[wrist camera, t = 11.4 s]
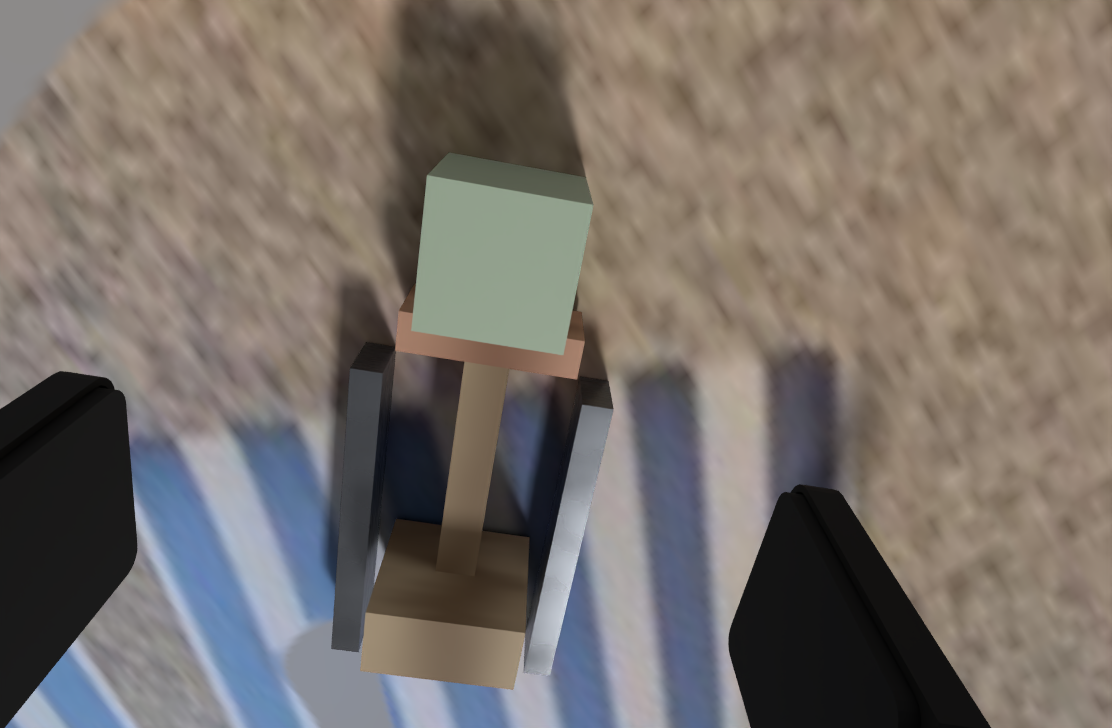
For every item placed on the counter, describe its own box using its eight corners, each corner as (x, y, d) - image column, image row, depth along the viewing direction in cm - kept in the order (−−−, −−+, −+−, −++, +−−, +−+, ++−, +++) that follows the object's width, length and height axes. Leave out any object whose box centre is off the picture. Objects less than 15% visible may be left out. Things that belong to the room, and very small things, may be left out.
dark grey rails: (346, 608, 34) (331, 648, 32) (366, 342, 28) (349, 368, 26) (549, 634, 35) (549, 676, 32) (608, 380, 29) (613, 409, 27)
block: (434, 283, 27) (411, 330, 23) (449, 152, 25) (427, 175, 21) (561, 304, 28) (563, 355, 23) (585, 177, 26) (593, 204, 21)
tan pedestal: (385, 570, 33) (353, 670, 27) (414, 284, 27) (381, 341, 22) (524, 589, 33) (519, 690, 28) (581, 312, 28) (588, 374, 22)
